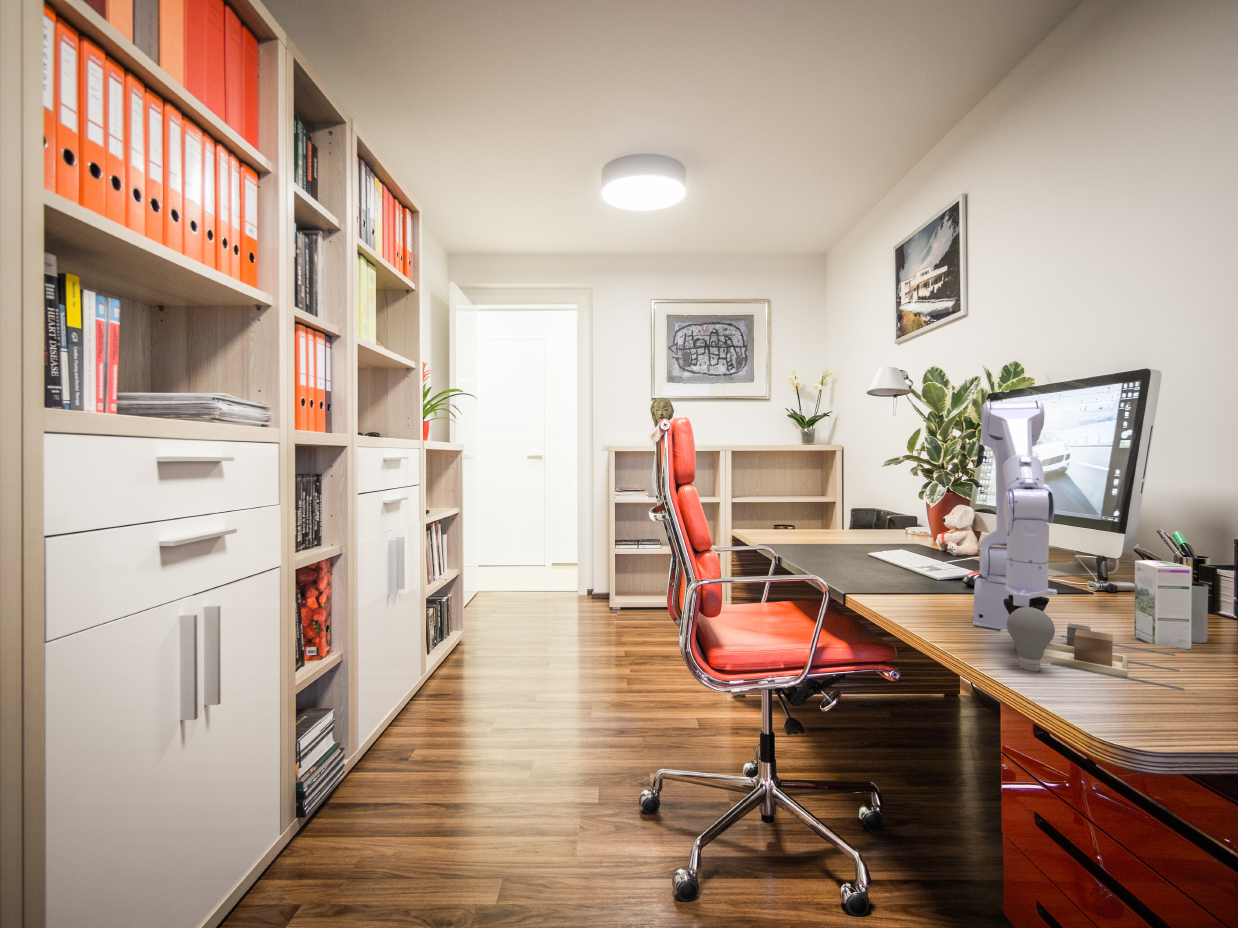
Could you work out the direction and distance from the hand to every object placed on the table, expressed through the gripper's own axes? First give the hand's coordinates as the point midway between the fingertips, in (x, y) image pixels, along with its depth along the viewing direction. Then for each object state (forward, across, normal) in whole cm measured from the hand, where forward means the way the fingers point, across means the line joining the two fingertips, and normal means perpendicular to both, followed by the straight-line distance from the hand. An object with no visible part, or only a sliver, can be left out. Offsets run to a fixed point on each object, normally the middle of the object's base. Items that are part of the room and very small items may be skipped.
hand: (1025, 641), depth 97 cm
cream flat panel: (+2, +10, -12) cm, 15 cm away
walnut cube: (+2, 0, -9) cm, 9 cm away
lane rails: (+2, +5, -11) cm, 12 cm away
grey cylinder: (+2, +32, -22) cm, 38 cm away
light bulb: (+2, -10, -2) cm, 10 cm away
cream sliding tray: (+2, 0, -5) cm, 6 cm away
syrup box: (+2, +24, -18) cm, 30 cm away
